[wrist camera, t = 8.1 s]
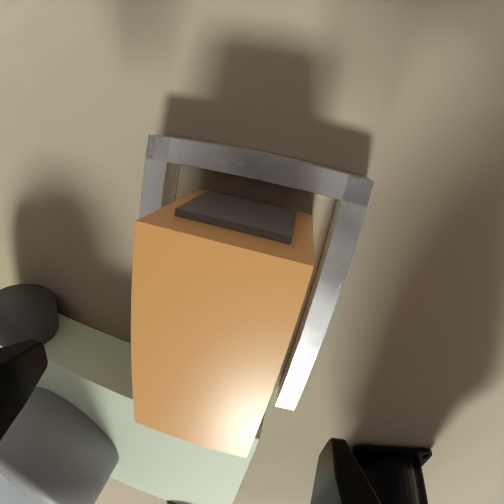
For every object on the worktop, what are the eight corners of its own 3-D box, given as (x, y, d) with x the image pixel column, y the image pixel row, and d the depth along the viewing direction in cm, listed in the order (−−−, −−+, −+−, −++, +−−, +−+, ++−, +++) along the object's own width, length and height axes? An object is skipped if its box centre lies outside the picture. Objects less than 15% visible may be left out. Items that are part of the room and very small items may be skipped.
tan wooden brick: (313, 208, 14) (316, 257, 8) (266, 371, 17) (246, 458, 11) (202, 182, 14) (136, 212, 9) (180, 346, 17) (134, 421, 12)
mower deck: (276, 365, 17) (240, 538, 7) (233, 486, 22) (205, 582, 13) (21, 276, 18) (-83, 346, 9) (54, 414, 24) (0, 481, 14)
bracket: (366, 177, 13) (373, 181, 11) (295, 391, 17) (293, 409, 16) (164, 134, 13) (149, 134, 12) (146, 348, 18) (135, 363, 16)
